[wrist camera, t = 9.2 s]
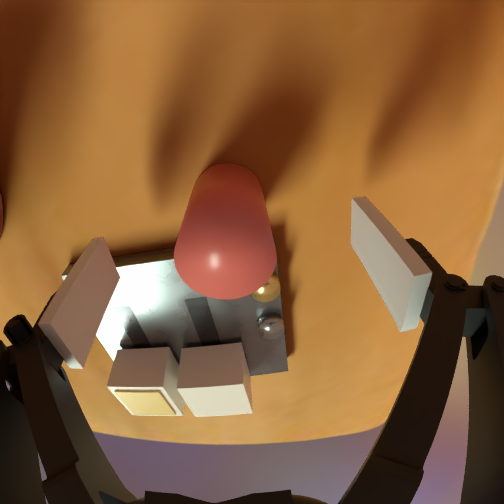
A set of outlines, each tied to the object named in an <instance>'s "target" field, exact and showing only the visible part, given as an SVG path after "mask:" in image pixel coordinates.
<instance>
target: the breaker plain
mask: <svg viewBox="0 0 504 504" xmlns="http://www.w3.org/2000/svg"><path fill="white" fill-rule="evenodd" d="M177 390H178V392H179V393H180V395H181V396H182V398H183V399H184V401H185V402H186V404H187V405H188V407H189V408H190V410H191V411H192V413H193V414H194V416H195V417H206V416H223V415H237V414H248V413H253V410H252V395H251V379H250V373H249V369H248V365H247V362H246V358H245V354H244V350H243V346H242V343H241V342H240V343H232V344H223V345H213V346H203V347H192V348H182V349H181V357H180V364H179V373H178V381H177Z"/></svg>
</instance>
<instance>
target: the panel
mask: <svg viewBox="0 0 504 504" xmlns="http://www.w3.org/2000/svg"><path fill="white" fill-rule="evenodd" d="M272 235H273V233H272ZM273 239H274V237H273ZM274 244H275V241H274ZM275 249H276V248H275ZM174 250H175V247H172V248H166V249H159V250H153V251H147V252H141V253H135V254H129V255H122V256H116V257H112V259H113V261H114V263H115V266H116V268H117V270H118V273H119V275H120V277H121V278H120V280H119V283H118V285H117V287H116V289H115V291H114V294H113V296H112V298H111V300H110V303H109V305H108V307H107V310H106V312H105V314H104V317H103V319H102V322H101V324H100V326H99V329H98V331H97V334H96V336H97V337H98V339H99V340H100V342H101V343H102V345H103V346H104V348H105V349H106V350H107V352H108V353H109V355H110V356H111V358H112V359H113V360H114V359H115V356H116V352H117V350H118V349H142V348H159V347H169V348H170V350H171V351H172V353H173V355H174V357H175V359H176V361H177V363H178V365H179V364H180V357H181V349H182V348H192V347H203V346H213V345H223V344H232V343H240V342H241V343H242V346H243V350H244V354H245V358H246V362H247V365H248V369H249V373H250V376H254V375H262V374H270V373H277V372H284V371H288V364H287V354H286V343H285V333H284V331H285V327H284V322H283V313H282V303H281V293H280V292H281V288H280V283H279V275H278V265H277V260H276V266H275V269H274V272H273V274H272V276H271V277H270V279H269V280H268V281H267V283H266V284H265V285H264V286H262V287H261V288H260V289H259V290H257V291H256V292H254V293H252V294H250V295H247V296H244V297H241V298H236V299H215V298H211V297H207V296H204V295H202V294H200V293H198V292H196V291H194V290H193V289H191V288H190V287H189V286H188V285H187V284H186V283H185V282H184V281H183V280H182V279H181V277H180V276H179V274H178V272H177V270H176V267H175V263H174ZM74 265H75V264H69V265H68V266H67V268H66V269H65V271H64V273H63V274H62V276H61V277H62V278H63V280H65V278H66V277H67V275H68V274H69V272H70V271H71V269H72V268H73V266H74Z"/></svg>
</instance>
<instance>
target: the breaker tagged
mask: <svg viewBox="0 0 504 504" xmlns="http://www.w3.org/2000/svg"><path fill="white" fill-rule="evenodd" d="M178 373H179V365H178V363H177V361H176V359H175V357H174V355H173V353H172V351H171V350H170V348H169V347H159V348H142V349H118V350H117V352H116V356H115V359H114V363H113V366H112V370H111V373H110V377H109V380H108V384H107V387H108V388H109V390H110V391H111V392H112V393H113V394H114V395H115V396H116V398H117V399H118V400H119V401H120V402H121V403H122V404H123V405H124V406H125V407H126V409H127V410H128V411H129V412H130V413H131V414H132V415H146V416H183V414H184V402H185V401H184V399H183V398H182V396H181V395H180V393H179V392H178V390H177V381H178Z"/></svg>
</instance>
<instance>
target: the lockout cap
mask: <svg viewBox="0 0 504 504" xmlns="http://www.w3.org/2000/svg"><path fill="white" fill-rule="evenodd" d="M276 260H277V255H276V249H275V244H274V239H273V235H272V230H271V226H270V222H269V217H268V213H267V208H266V204H265V200H264V195H263V191H262V187H261V184H260V182H259V180H258V178H257V177H256V176H255V175H254V174H253V173H252V172H251V171H250V170H249V169H247V168H245V167H243V166H241V165H238V164H233V163H222V164H217V165H215V166H212V167H210V168H208V169H207V170H205V171H204V172H203V173H202V174H201V175H200V176H199V177H198V179H197V181H196V182H195V185H194V187H193V191H192V194H191V197H190V200H189V203H188V206H187V209H186V212H185V215H184V219H183V222H182V225H181V228H180V232H179V235H178V238H177V242H176V245H175V250H174V263H175V267H176V270H177V272H178V274H179V276H180V277H181V279H182V280H183V281H184V282H185V283H186V284H187V285H188V286H189V287H190V288H191V289H193V290H194V291H196V292H198V293H200V294H202V295H204V296H207V297H211V298H215V299H236V298H241V297H244V296H247V295H250V294H252V293H254V292H256V291H257V290H259V289H260V288H261V287H262V286H264V285H265V284H266V283H267V281H268V280H269V279H270V277H271V276H272V274H273V272H274V269H275V266H276Z"/></svg>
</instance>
